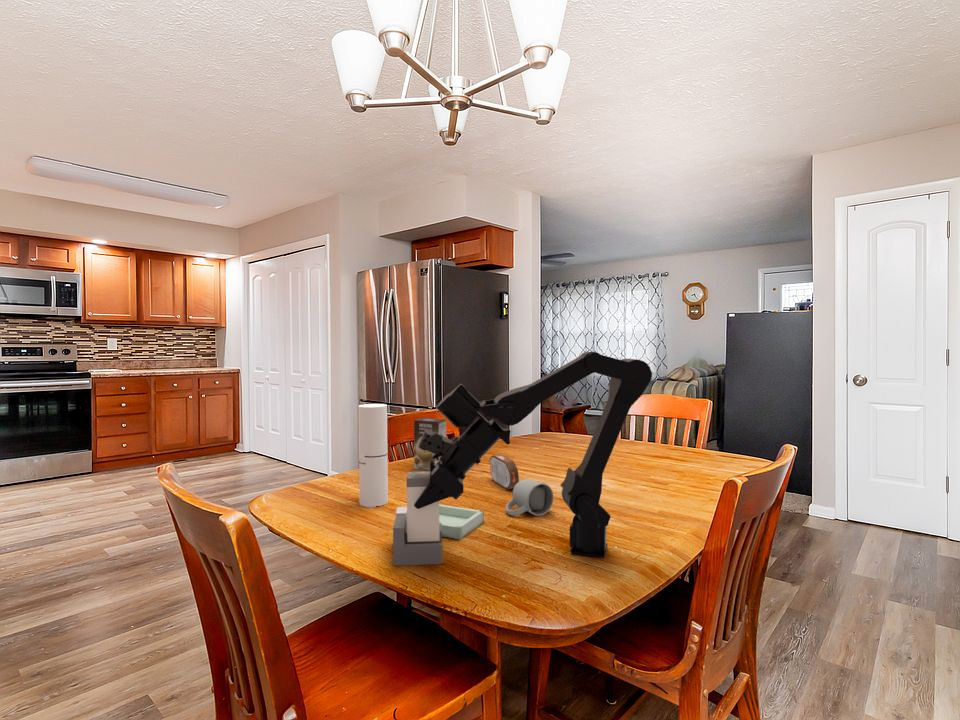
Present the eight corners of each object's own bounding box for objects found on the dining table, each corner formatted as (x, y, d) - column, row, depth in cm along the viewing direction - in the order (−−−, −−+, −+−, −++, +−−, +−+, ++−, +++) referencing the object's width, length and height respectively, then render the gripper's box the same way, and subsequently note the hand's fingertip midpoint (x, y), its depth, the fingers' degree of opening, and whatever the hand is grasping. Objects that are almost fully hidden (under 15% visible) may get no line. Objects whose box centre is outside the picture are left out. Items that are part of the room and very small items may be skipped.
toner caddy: (439, 531, 105) (438, 471, 105) (439, 540, 100) (439, 477, 100) (408, 532, 105) (408, 472, 104) (407, 542, 100) (406, 478, 99)
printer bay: (441, 539, 111) (441, 504, 111) (442, 564, 99) (442, 524, 98) (398, 540, 110) (397, 505, 110) (393, 565, 98) (392, 526, 98)
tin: (519, 492, 146) (519, 461, 145) (509, 493, 145) (509, 462, 144) (497, 478, 160) (497, 450, 159) (488, 479, 159) (488, 451, 158)
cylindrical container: (381, 508, 132) (380, 407, 131) (354, 506, 133) (353, 406, 132) (392, 499, 139) (391, 404, 138) (366, 498, 140) (365, 403, 139)
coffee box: (412, 469, 171) (412, 419, 171) (422, 465, 177) (422, 417, 176) (438, 472, 168) (438, 421, 167) (447, 467, 174) (447, 418, 173)
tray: (484, 521, 122) (484, 511, 122) (459, 539, 111) (459, 527, 111) (434, 514, 127) (434, 503, 127) (406, 530, 116) (406, 519, 116)
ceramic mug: (534, 504, 135) (533, 474, 135) (554, 513, 128) (554, 481, 127) (498, 511, 130) (498, 480, 129) (517, 521, 123) (517, 488, 122)
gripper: (442, 409, 111) (390, 463, 111) (443, 423, 93) (380, 487, 92) (480, 445, 112) (428, 499, 112) (489, 466, 94) (426, 531, 93)
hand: (416, 502), depth 102 cm, fingers closed on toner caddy, 5 cm apart
